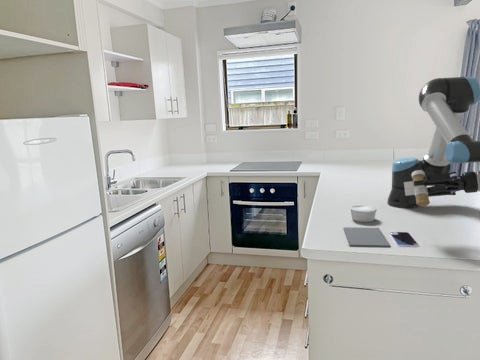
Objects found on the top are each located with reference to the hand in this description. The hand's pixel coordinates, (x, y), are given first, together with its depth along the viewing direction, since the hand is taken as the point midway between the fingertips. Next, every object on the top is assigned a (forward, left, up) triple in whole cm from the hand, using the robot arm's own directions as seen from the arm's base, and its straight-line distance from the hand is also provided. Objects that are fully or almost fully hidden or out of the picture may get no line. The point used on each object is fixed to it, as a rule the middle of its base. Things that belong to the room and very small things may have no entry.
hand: (404, 189), depth 135 cm
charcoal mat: (+5, -15, -18) cm, 24 cm away
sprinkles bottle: (+6, +5, -5) cm, 9 cm away
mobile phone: (+6, -2, -18) cm, 20 cm away
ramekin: (-19, -12, -18) cm, 29 cm away
